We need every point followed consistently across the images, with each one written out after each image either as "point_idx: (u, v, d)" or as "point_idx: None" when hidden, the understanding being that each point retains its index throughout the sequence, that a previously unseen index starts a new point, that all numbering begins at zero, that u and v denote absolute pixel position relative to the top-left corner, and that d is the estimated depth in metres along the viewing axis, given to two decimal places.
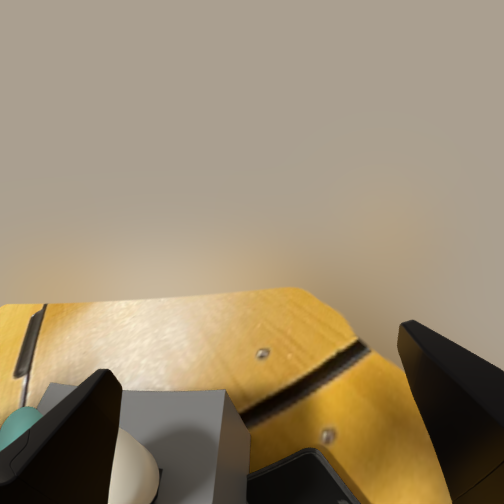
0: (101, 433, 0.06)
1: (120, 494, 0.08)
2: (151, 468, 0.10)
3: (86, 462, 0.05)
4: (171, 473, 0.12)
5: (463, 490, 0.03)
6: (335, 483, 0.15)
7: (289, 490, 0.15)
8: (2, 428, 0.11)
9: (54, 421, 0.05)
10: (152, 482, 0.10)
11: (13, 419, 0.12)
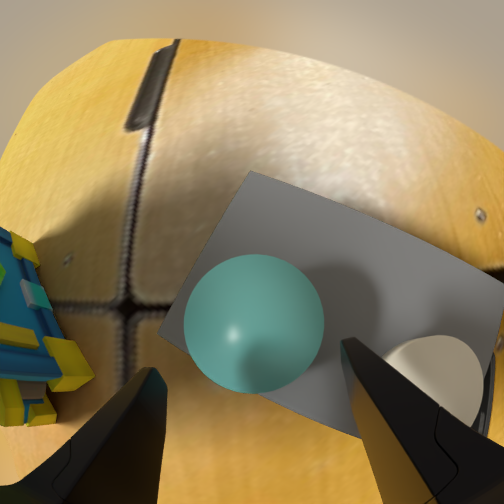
0: (150, 438, 0.06)
1: None
2: None
3: (136, 472, 0.05)
4: None
5: None
6: (488, 394, 0.15)
7: None
8: (192, 295, 0.11)
9: (98, 430, 0.05)
10: None
11: (227, 280, 0.11)
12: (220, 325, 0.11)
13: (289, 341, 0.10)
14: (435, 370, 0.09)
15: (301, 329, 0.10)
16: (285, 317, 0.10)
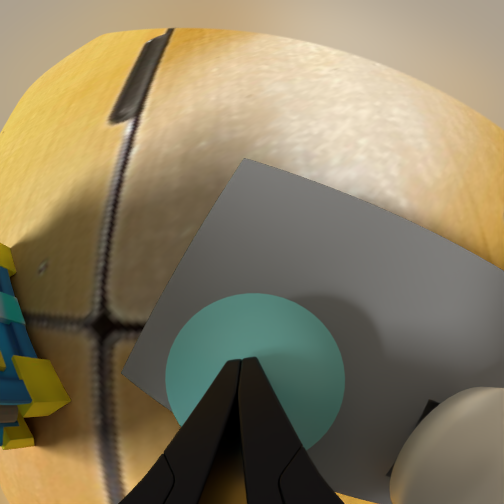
0: None
1: None
2: None
3: (238, 478, 0.05)
4: None
5: None
6: None
7: None
8: (174, 343, 0.09)
9: (196, 436, 0.05)
10: None
11: (220, 326, 0.08)
12: None
13: (299, 406, 0.07)
14: (495, 436, 0.04)
15: (315, 392, 0.07)
16: (295, 377, 0.07)
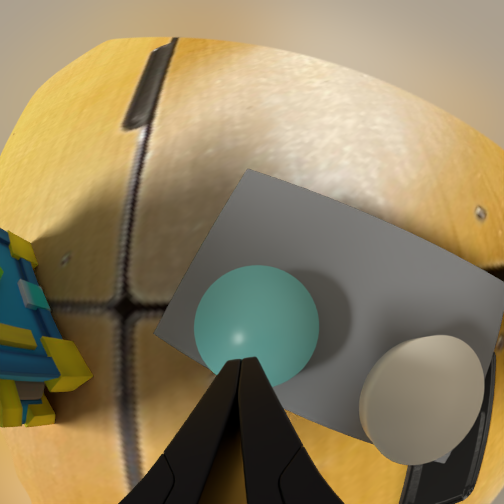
0: None
1: (449, 444, 0.07)
2: None
3: (238, 478, 0.05)
4: None
5: None
6: (488, 394, 0.15)
7: None
8: (201, 302, 0.13)
9: (196, 436, 0.05)
10: None
11: (233, 288, 0.13)
12: (227, 328, 0.12)
13: (288, 342, 0.11)
14: (435, 370, 0.08)
15: (299, 332, 0.11)
16: (284, 321, 0.12)
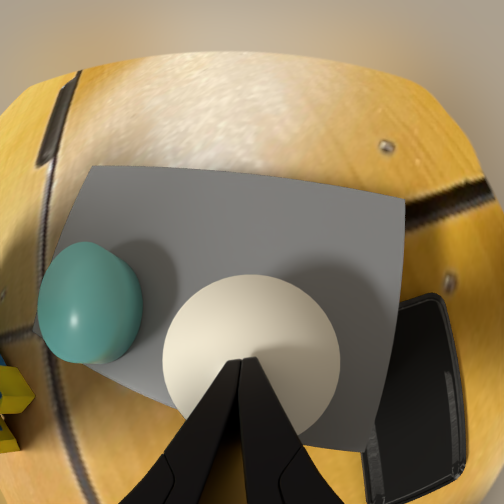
0: None
1: (297, 421, 0.07)
2: None
3: (238, 478, 0.05)
4: None
5: None
6: (448, 348, 0.15)
7: (406, 345, 0.16)
8: (41, 288, 0.11)
9: (197, 436, 0.05)
10: None
11: (59, 269, 0.11)
12: (56, 307, 0.10)
13: (96, 310, 0.10)
14: (239, 320, 0.08)
15: (104, 298, 0.10)
16: (93, 290, 0.10)
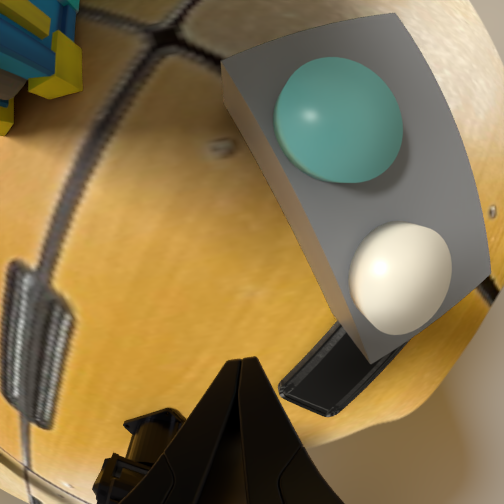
0: None
1: (398, 328, 0.12)
2: None
3: (238, 478, 0.05)
4: None
5: None
6: None
7: None
8: (310, 62, 0.09)
9: (197, 436, 0.05)
10: None
11: (348, 74, 0.09)
12: (322, 99, 0.10)
13: (365, 151, 0.10)
14: (428, 261, 0.12)
15: (378, 151, 0.10)
16: (373, 133, 0.10)
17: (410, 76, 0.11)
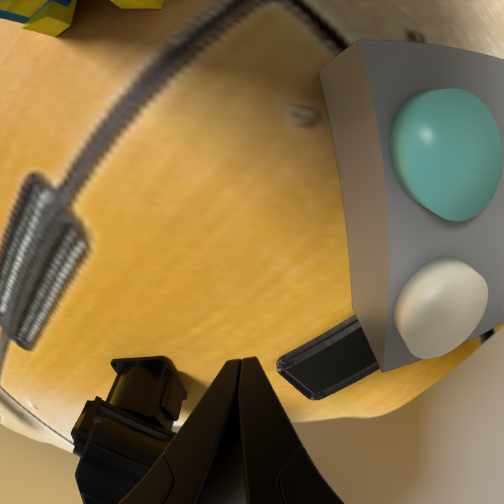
0: None
1: (424, 352, 0.12)
2: None
3: (238, 478, 0.05)
4: None
5: None
6: None
7: None
8: (450, 88, 0.07)
9: (196, 436, 0.05)
10: None
11: (476, 116, 0.07)
12: (450, 131, 0.08)
13: (465, 194, 0.09)
14: (469, 304, 0.11)
15: (474, 197, 0.09)
16: (476, 180, 0.09)
17: None
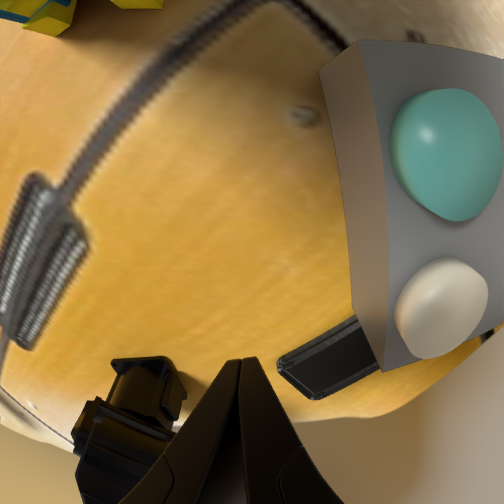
0: None
1: (424, 352, 0.12)
2: None
3: (238, 478, 0.05)
4: None
5: None
6: None
7: None
8: (450, 88, 0.07)
9: (197, 436, 0.05)
10: None
11: (477, 116, 0.07)
12: (450, 131, 0.08)
13: (465, 194, 0.09)
14: (469, 304, 0.11)
15: (474, 197, 0.09)
16: (477, 180, 0.09)
17: None
